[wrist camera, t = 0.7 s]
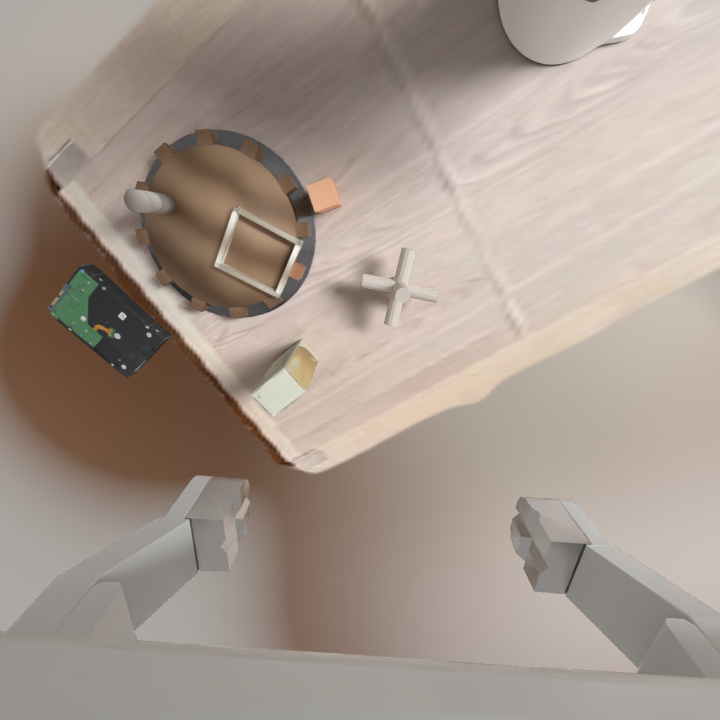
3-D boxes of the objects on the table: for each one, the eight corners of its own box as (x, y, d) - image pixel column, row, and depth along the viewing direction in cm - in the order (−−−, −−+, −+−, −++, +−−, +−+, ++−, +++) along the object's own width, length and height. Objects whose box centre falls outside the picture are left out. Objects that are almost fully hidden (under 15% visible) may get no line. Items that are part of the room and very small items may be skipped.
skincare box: (292, 379, 55) (271, 419, 43) (274, 360, 54) (247, 396, 42) (321, 357, 53) (307, 393, 42) (303, 336, 52) (283, 368, 41)
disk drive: (174, 333, 53) (93, 261, 49) (164, 339, 51) (77, 264, 47) (138, 372, 56) (58, 307, 52) (127, 379, 53) (42, 311, 50)
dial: (168, 95, 40) (121, 64, 33) (339, 192, 43) (332, 186, 36) (127, 268, 48) (81, 276, 41) (273, 340, 51) (256, 360, 44)
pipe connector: (356, 308, 50) (353, 327, 41) (370, 239, 46) (370, 242, 37) (421, 321, 50) (432, 343, 41) (440, 254, 47) (457, 261, 37)
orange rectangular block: (320, 213, 45) (314, 212, 41) (313, 189, 44) (306, 185, 40) (341, 206, 45) (338, 203, 40) (334, 182, 44) (329, 177, 39)
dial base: (170, 90, 41) (167, 89, 40) (345, 191, 44) (344, 191, 44) (127, 269, 49) (124, 269, 48) (277, 342, 52) (276, 343, 52)
